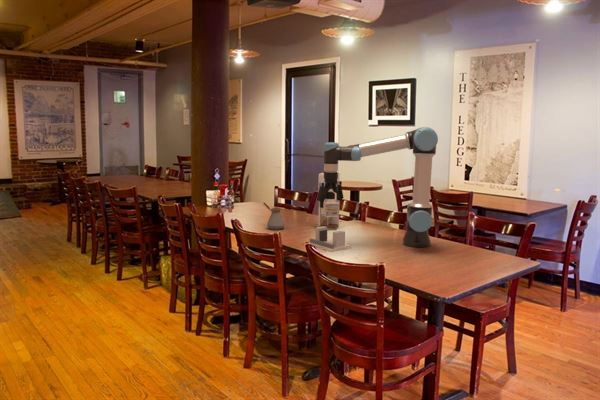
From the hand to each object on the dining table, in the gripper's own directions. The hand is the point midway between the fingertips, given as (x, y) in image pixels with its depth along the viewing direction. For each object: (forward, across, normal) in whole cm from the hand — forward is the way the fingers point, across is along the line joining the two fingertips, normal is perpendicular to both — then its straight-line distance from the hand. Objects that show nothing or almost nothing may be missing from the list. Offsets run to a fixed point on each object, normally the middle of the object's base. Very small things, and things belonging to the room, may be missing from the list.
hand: (330, 212), depth 283 cm
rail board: (+19, 0, 0) cm, 19 cm away
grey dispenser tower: (+19, -32, -39) cm, 54 cm away
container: (+2, 0, 0) cm, 2 cm away
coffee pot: (+19, -4, -62) cm, 65 cm away
